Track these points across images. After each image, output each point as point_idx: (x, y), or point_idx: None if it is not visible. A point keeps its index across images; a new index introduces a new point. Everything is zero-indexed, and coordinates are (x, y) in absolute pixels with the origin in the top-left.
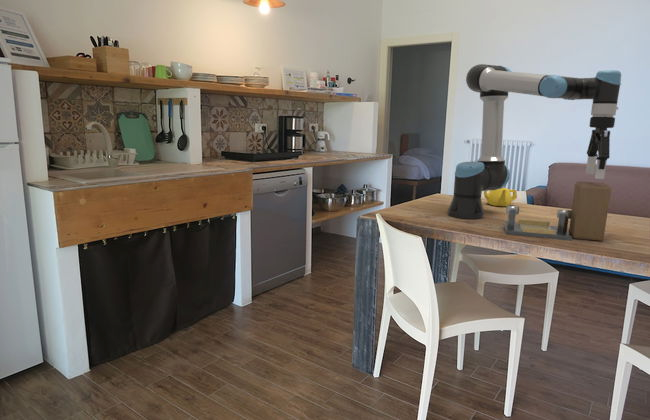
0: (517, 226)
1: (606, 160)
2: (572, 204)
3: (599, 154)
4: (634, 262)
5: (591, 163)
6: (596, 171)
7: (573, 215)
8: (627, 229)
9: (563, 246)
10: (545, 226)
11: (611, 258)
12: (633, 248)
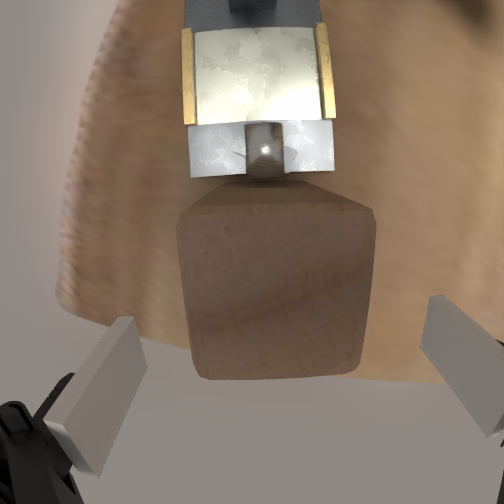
0: (262, 20)
1: (81, 470)
2: (322, 189)
3: (10, 463)
4: (59, 294)
5: (469, 372)
6: (95, 348)
7: (259, 186)
8: (410, 352)
9: (108, 150)
10: (307, 105)
11: (60, 254)
12: (184, 328)
